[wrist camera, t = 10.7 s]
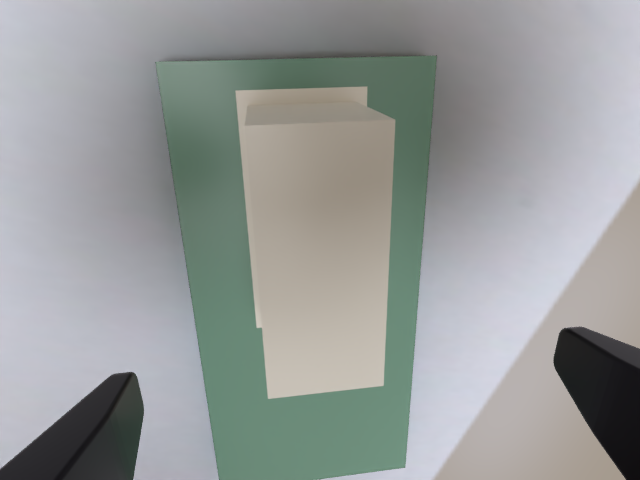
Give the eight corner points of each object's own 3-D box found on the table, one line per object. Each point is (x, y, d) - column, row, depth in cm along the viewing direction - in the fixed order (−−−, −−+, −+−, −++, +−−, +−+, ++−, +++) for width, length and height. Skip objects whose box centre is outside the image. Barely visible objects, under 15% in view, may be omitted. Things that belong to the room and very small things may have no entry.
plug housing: (353, 309, 20) (383, 385, 15) (264, 318, 19) (268, 398, 15) (356, 101, 16) (395, 119, 12) (247, 105, 16) (244, 125, 11)
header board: (399, 452, 25) (420, 510, 22) (222, 476, 24) (217, 540, 21) (427, 55, 17) (466, 55, 14) (160, 61, 16) (137, 63, 13)
